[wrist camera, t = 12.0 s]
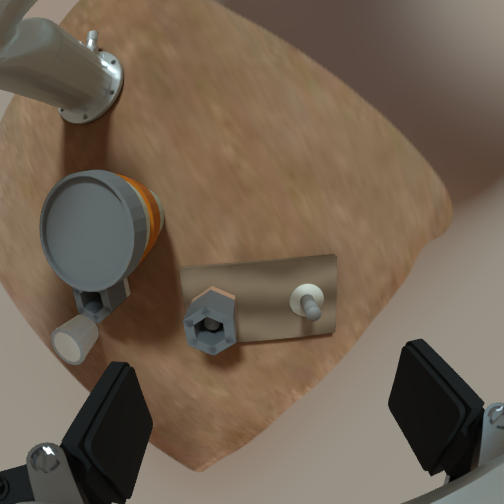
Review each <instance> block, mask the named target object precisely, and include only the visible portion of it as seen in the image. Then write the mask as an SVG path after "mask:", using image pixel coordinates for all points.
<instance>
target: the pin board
mask: <svg viewBox="0 0 504 504" xmlns="http://www.w3.org/2000/svg"><path fill="white" fill-rule="evenodd" d="M179 273H180V280H181V286H182V292H183V298H184V304H185V310H186V313H187V310H188V308H189V306H190V304H191V302H192V300H193V298H195V297H196V296H198V295H199V294H201V293H202V292H204V291H205V290H207V289H208V288H210V287H211V286H214V287H216V288H218V289H221V290H223V291H225V292H228V293H230V294H232V295H235V299H236V308H237V316H238V323H237V337H236V342H250V341H263V340H274V339H284V338H294V337H303V336H311V335H319V334H326V333H334V332H335V327H336V294H337V257H336V256H335V255H334V254H331V255H320V256H308V257H297V258H285V259H273V260H261V261H249V262H237V263H225V264H212V265H200V266H187V267H181V268H180V269H179ZM204 325H205V327H206V328H207V329H209V330H216V329H217V328H218V327H219V325H220V322H218V321H216V320H214V319H211V318H209V317H206V318H205V321H204Z"/></svg>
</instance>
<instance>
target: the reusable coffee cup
mask: <svg viewBox="0 0 504 504" xmlns="http://www.w3.org/2000/svg"><path fill="white" fill-rule="evenodd" d="M163 223H164V210H163V207H162V204H161V202H160V200H159V198H158V197H157V195H156V194H155V193H154V192H153V191H151V190H150V189H148V188H146V187H145V186H144V185H143V184H141V183H140V182H138V181H136V180H134V179H131V178H128V177H126V176H123V175H120V174H116V173H112V172H109V171H105V170H88V171H82V172H77V173H73V174H70V175H68V176H66V177H64V178H62V179H61V180H60V181H59V182H58V183H57V184H55V186H54V187H53V188H52V189H51V191H50V192H49V194H48V196H47V198H46V200H45V202H44V204H43V208H42V211H41V217H40V239H41V245H42V248H43V251H44V254H45V257H46V259H47V261H48V263H49V265H50V266H51V268H52V269H53V270H54V272H55V273H56V274H57V275H58V276H59V277H60V278H61V279H62V280H63V281H64V282H66V283H67V284H68V285H70V286H72V287H74V288H76V289H78V290H82V291H87V292H94V291H100V290H104V289H107V288H108V287H110V286H112V285H114V284H116V283H118V282H120V281H122V280H124V279H125V278H127V277H128V276H129V275H130V274H131V273H132V272H133V271H134V270H135V268H136V267H137V266H138V265H139V264H140V263H141V262H142V261H143V259H144V258H145V257H146V255H147V254H148V253H149V251H150V250H151V249H152V247H153V246H154V244H155V242H156V240H157V238H158V235H159V233H160V231H161V229H162V227H163Z"/></svg>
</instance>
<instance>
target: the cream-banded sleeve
mask: <svg viewBox="0 0 504 504" xmlns="http://www.w3.org/2000/svg"><path fill="white" fill-rule="evenodd" d="M72 290H73V294H74V298H75V302H76V305H77V309H78V312H79V313H81V314H82V315H84V316H86V317H87V318H89V319H91V320H92V321H94V322H96V323H99V322H100V321H102V320H103V319H104V318H105V317H107V316H108V315H109V314H111V313H112V312H113V311H114V310H115V309H116V308H117V307H118V306H119V305H120V304H121V303H122V302H123V301H124V300H125V299H126V298H127V297H128V296H129V295H130V289H129V284H128V279H127V278H125V279H124V280H122V281H120V282H118V283H116V284H114V285H112V286H110V287H108V288H107V289H104V290H100V291H94V292H87V291H82V290H78V289H76V288H73V289H72Z"/></svg>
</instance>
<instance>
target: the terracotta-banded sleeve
mask: <svg viewBox="0 0 504 504" xmlns="http://www.w3.org/2000/svg"><path fill="white" fill-rule="evenodd" d="M206 317H209V318H211V319H214V320H216V321H218V322H220V325H219V327H218V328H217V329H216V330H209V329H207V328H206V327H205V325H204V321H205V318H206ZM183 323H184V328H185V333H186V338H187V343H188V345H189V346H191V347H194V348H196V349H199V350H201V351H203V352H206V353H208V354H211V355H213V356H214V355H216V354H217V353H219V352H221V351H223V350H224V349H226V348H228V347H230V346H231V345H233V344H235V343H236V337H237V323H238V316H237V308H236V299H235V295H232V294H230V293H228V292H225V291H223V290H221V289H218V288H216V287H214V286H211V287H210V288H208V289H207V290H205V291H204V292H202V293H201V294H199V295H198V296H196V297H195V298H193V300H192V302H191V304H190V306H189V308H188V310H187V313H186V315H185V317H184V319H183Z"/></svg>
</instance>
